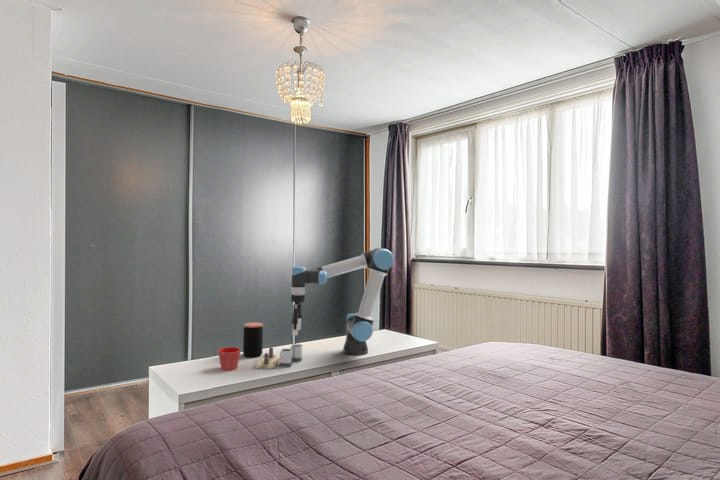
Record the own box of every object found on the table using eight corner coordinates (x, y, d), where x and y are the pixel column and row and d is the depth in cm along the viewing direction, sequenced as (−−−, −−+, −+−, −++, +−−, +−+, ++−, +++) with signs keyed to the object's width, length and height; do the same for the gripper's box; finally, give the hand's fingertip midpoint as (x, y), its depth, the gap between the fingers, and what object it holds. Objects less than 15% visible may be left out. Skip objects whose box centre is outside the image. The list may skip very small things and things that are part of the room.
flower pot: (228, 373, 211) (228, 353, 211) (213, 369, 217) (214, 350, 217) (244, 368, 220) (245, 349, 220) (230, 364, 226) (230, 345, 226)
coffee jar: (266, 354, 246) (266, 323, 246) (254, 359, 236) (254, 326, 236) (251, 352, 251) (252, 321, 251) (239, 356, 241) (239, 324, 241)
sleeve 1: (292, 363, 230) (292, 348, 230) (290, 366, 224) (291, 351, 224) (281, 363, 230) (282, 348, 230) (279, 366, 224) (280, 351, 224)
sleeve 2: (302, 358, 240) (302, 344, 240) (300, 361, 234) (301, 347, 234) (291, 358, 240) (292, 344, 240) (290, 361, 234) (290, 346, 234)
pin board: (281, 358, 240) (281, 345, 240) (274, 368, 220) (274, 355, 220) (263, 357, 240) (263, 345, 240) (254, 368, 220) (255, 354, 220)
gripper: (294, 291, 249) (293, 327, 249) (287, 297, 224) (286, 337, 224) (307, 291, 249) (306, 328, 249) (301, 297, 224) (300, 337, 224)
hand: (296, 332), depth 237 cm, fingers open, 13 cm apart
